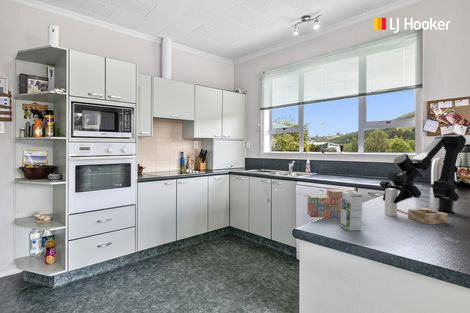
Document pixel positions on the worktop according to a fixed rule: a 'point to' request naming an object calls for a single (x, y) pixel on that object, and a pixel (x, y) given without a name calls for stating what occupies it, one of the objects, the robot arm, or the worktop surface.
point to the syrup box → (351, 210)
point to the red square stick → (402, 211)
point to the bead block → (427, 216)
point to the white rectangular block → (390, 202)
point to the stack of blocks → (326, 204)
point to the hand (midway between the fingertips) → (388, 201)
